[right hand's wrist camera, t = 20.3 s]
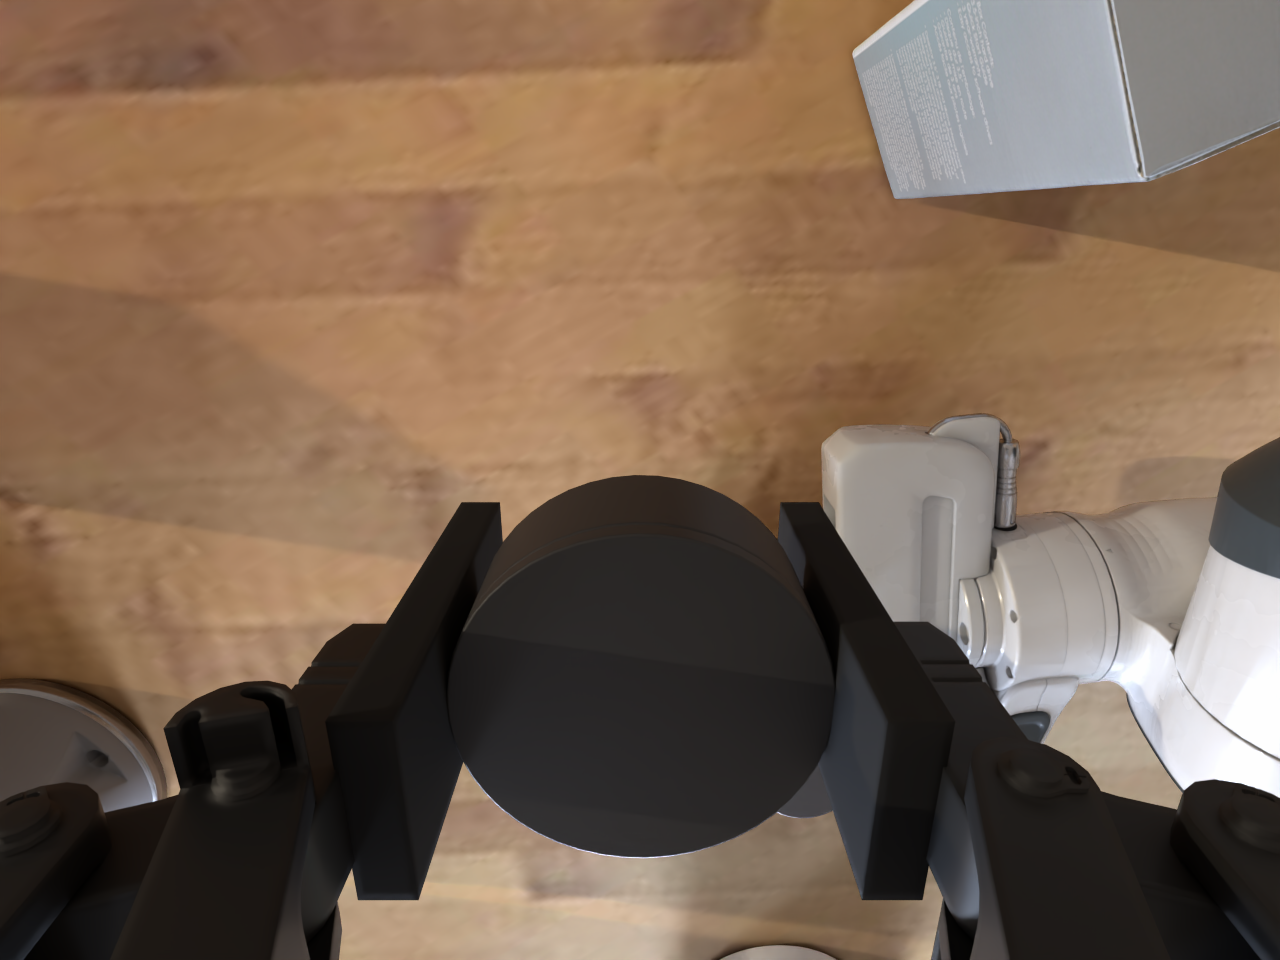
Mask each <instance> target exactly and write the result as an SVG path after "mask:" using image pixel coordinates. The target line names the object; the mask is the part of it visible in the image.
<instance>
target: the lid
mask: <svg viewBox="0 0 1280 960" xmlns="http://www.w3.org/2000/svg"><path fill="white" fill-rule="evenodd" d="M835 686H836V682H835V675H834V669H833V663H832V659H831V656H830V653H829V651H828V648H827V645H826V642H825V639H824V637H823V635H822V632H821V630H820V628H819V625H818V623H817V621H816V618H815V616H814V614H813V612H812V609H811V607H810V605H809V602H808V600H807V598H806V596H805V593H804V591H803V589H802V586H801V584H800V582H799V579H798V577H797V575H796V573H795V570H794V568H793V566H792V564H791V562H790V560H789V558H788V556H787V554H786V552H785V550H784V549H783V547H782V546H781V545H780V543H779V542H778V540H777V539H776V538H775V536H774V535H773V534H772V532H771V531H770V530H769V529H768V528H767V527H766V526H765V525H764V524H763V523H762V522H761V521H760V520H759V519H758V518H757V517H756V516H754V515H753V514H752V513H751V512H749V511H748V510H747V509H745V508H744V507H743V506H742V505H740V504H738V503H737V502H735V501H733V500H732V499H730V498H728V497H726V496H725V495H723V494H721V493H719V492H716V491H714V490H712V489H709V488H707V487H705V486H702V485H699V484H695V483H692V482H688V481H685V480H681V479H675V478H669V477H662V476H646V475H632V476H621V477H612V478H607V479H603V480H598V481H594V482H589V483H587V484H584V485H581V486H578V487H576V488H573V489H570V490H568V491H566V492H564V493H562V494H560V495H558V496H556V497H554V498H552V499H550V500H548V501H547V502H546V503H544V504H543V505H541V506H540V507H538V508H537V509H535V510H534V511H533V512H531V513H530V514H529V515H528V516H527V517H526V518H525V519H524V520H522V521H521V522H520V523H519V524H518V525H517V526H516V527H515V528H514V530H513V531H512V532H511V533H510V534H509V536H508V537H507V538H506V539H505V540H504V542H503V543H502V545H501V546H500V548H499V550H498V551H497V553H496V555H495V556H494V558H493V560H492V562H491V565H490V567H489V569H488V572H487V574H486V576H485V579H484V581H483V583H482V586H481V588H480V590H479V592H478V595H477V597H476V599H475V602H474V604H473V606H472V609H471V611H470V613H469V616H468V618H467V620H466V623H465V625H464V627H463V630H462V632H461V634H460V637H459V639H458V641H457V644H456V646H455V649H454V651H453V654H452V658H451V663H450V667H449V671H448V678H447V690H446V697H447V708H448V717H449V723H450V727H451V732H452V736H453V739H454V742H455V744H456V747H457V749H458V752H459V754H460V756H461V758H462V760H463V762H464V764H465V765H466V767H467V769H468V770H469V772H470V774H471V776H472V777H473V778H474V779H475V781H476V782H477V783H478V785H479V786H480V787H481V788H482V790H483V791H484V792H485V793H486V794H487V795H488V796H489V797H490V798H491V799H492V800H493V801H494V802H495V803H496V804H497V805H498V806H499V807H500V808H501V809H502V810H504V811H505V812H506V813H507V814H509V815H510V816H511V817H513V818H514V819H515V820H517V821H518V822H520V823H521V824H523V825H525V826H526V827H528V828H530V829H531V830H533V831H535V832H536V833H538V834H540V835H543V836H545V837H547V838H549V839H551V840H553V841H556V842H558V843H561V844H564V845H567V846H570V847H573V848H576V849H579V850H583V851H588V852H592V853H596V854H601V855H608V856H617V857H627V858H654V857H667V856H675V855H680V854H686V853H691V852H696V851H699V850H703V849H706V848H710V847H713V846H716V845H719V844H721V843H724V842H726V841H729V840H731V839H734V838H736V837H738V836H740V835H742V834H744V833H746V832H748V831H749V830H751V829H753V828H755V827H757V826H758V825H760V824H761V823H763V822H764V821H765V820H767V819H768V818H770V817H771V816H773V815H774V814H775V813H777V812H778V811H779V810H780V809H781V808H782V807H783V806H784V805H786V804H787V803H788V802H789V801H790V800H791V799H792V798H793V797H794V796H795V795H796V794H797V792H798V791H799V790H800V789H801V788H802V787H803V786H804V784H805V783H806V782H807V780H808V779H809V777H810V776H811V774H812V773H813V771H814V770H815V768H816V767H817V765H818V763H819V761H820V759H821V757H822V755H823V753H824V751H825V748H826V746H827V743H828V740H829V737H830V731H831V724H832V715H833V706H834V696H835Z"/></svg>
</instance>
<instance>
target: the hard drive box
mask: <svg viewBox="0 0 1280 960" xmlns="http://www.w3.org/2000/svg"><path fill="white" fill-rule="evenodd" d="M853 59H854V62H855V66H856V70H857V73H858V77H859V80H860V84H861V87H862V91H863V94H864V98H865V101H866V105H867V108H868V112H869V115H870V119H871V122H872V126H873V129H874V132H875V136H876V139H877V143H878V146H879V150H880V153H881V157H882V160H883V164H884V167H885V171H886V174H887V177H888V180H889V183H890V186H891V189H892V192H893V195H894V198H896V199H907V198H925V197H938V196H953V195H966V194H981V193H995V192H1007V191H1021V190H1036V189H1050V188H1061V187H1073V186H1085V185H1103V184H1117V183H1133V182H1148V181H1151V180H1154V179H1157V178H1159V177H1162V176H1165V175H1167V174H1170V173H1173V172H1175V171H1178V170H1180V169H1183V168H1185V167H1188V166H1191V165H1193V164H1195V163H1198V162H1200V161H1202V160H1205V159H1207V158H1209V157H1212V156H1214V155H1216V154H1218V153H1221V152H1223V151H1225V150H1228V149H1230V148H1232V147H1235V146H1237V145H1239V144H1242V143H1244V142H1246V141H1249V140H1251V139H1253V138H1256V137H1258V136H1260V135H1263V134H1265V133H1268V132H1270V131H1272V130H1275V129H1277V128H1279V127H1280V0H914V1H913V2H912V3H911V4H909V5H908V6H907V7H906V8H904V9H903V10H902V11H901V12H899V13H898V14H897V15H896V16H894V17H893V18H892V19H891V20H889V21H888V22H887V23H886V24H884V25H883V26H882V27H881V28H880V29H878V30H877V31H876V32H875V33H873V34H872V35H871V36H870V37H869V38H868V39H866V40H865V41H864V42H863V43H861V44H860V45H859V46H858V47H857V48H855V49H854V51H853Z"/></svg>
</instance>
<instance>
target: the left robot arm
mask: <svg viewBox="0 0 1280 960" xmlns="http://www.w3.org/2000/svg"><path fill="white" fill-rule="evenodd" d="M1000 432H1001V434H1002V438H1003V439H999V438H1000ZM821 454H822V492H823V510H824V512H825V513H826V515H827V516H828V518H829V520H830V521H831V523H832V524H833V526H834V528H835V529H836V531H837V532H838V534H839V536H840V537H841V539H842V540H843V542H844V544H845V545H846V547H847V548H848V550H849V552H850V553H851V555H852V556H853V558H854V560H855V561H856V563H857V564H858V566H859V568H860V569H861V571H862V572H863V574H864V576H865V577H866V579H867V580H868V582H869V584H870V585H871V587H872V588H873V590H874V592H875V593H876V595H877V596H878V598H879V600H880V601H881V603H882V604H883V606H884V608H885V609H886V611H887V613H888V614H889V616H890V617H891V619H892V621H893V622H929V623H931V624H932V625H934V626H935V627H936V628H938V629H939V630H941V631H942V632H944V633H945V634H947V635H948V636H950V637H951V638H953V639H954V640H955V642H956V643H957V644H958V646H959V647H960V648H961V650H962V651H963V652H964V654H965V655H966V656H967V658H968V659H969V663H970V664H973V666H974V667H975V669H976V670H977V671H978V673H979V674H980V675H981V677H982V681H983V682H986V683H987V685H988V686H989V687H990V689H991V690H992V691H993V693H994V694H995V696H996V697H997V698H998V700H999V701H1000V702H1001V704H1002V705H1003V706H1004V708H1005V709H1006V710H1007V712H1008V713H1009V714H1010V716H1011V717H1012V718H1013V720H1014V721H1015V723H1016V724H1017V725H1018V727H1019V728H1020V729H1021V731H1022V732H1023V733H1024V735H1025V736H1026V737H1027V739H1028V740H1030V741H1034V742H1038V743H1041V744H1043V743H1044V741H1045V739H1046V738H1047V736H1048V734H1049V732H1050V730H1051V728H1052V726H1053V725H1054V723H1055V721H1056V719H1057V718H1058V716H1059V715H1060V713H1061V712H1062V710H1063V709H1064V707H1065V706H1066V705H1067V703H1068V702H1069V701H1070V699H1071V698H1072V697H1073V695H1074V694H1075V692H1076V690H1077V687H1078V684H1085V683H1094V682H1099V681H1112V682H1115V683H1117V684H1119V685H1120V686H1121V687H1123V688H1124V689H1125V691H1126V692H1127V695H1126V696H1127V701H1128V705H1129V707H1130V710H1131V712H1132V714H1133V716H1134V718H1135V720H1136V722H1137V724H1138V726H1139V728H1140V730H1141V731H1142V733H1143V735H1144V736H1145V738H1146V740H1147V741H1148V743H1149V745H1150V746H1151V748H1152V750H1153V751H1154V753H1155V754H1156V756H1157V757H1158V759H1159V761H1160V762H1161V764H1162V765H1163V767H1164V768H1165V770H1166V771H1167V773H1168V774H1169V776H1170V777H1171V779H1172V780H1173V781H1174V783H1175V784H1176V785H1177V786H1178V788H1179V789H1180V790H1181V792H1182V793H1183V791H1184V790H1185V789H1186V788H1188V787H1189V786H1190V785H1191V784H1192V783H1194V782H1196V781H1204V780H1211V779H1218V780H1224V781H1231V782H1237V783H1243V784H1245V785H1248V786H1252V787H1255V788H1257V789H1261V790H1264V791H1266V792H1269V793H1271V794H1273V795H1275V796H1277V797H1279V798H1280V437H1279V438H1277V439H1275V440H1273V441H1271V442H1269V443H1267V444H1265V445H1263V446H1261V447H1260V448H1258V449H1256V450H1254V451H1253V452H1251V453H1249V454H1247V455H1246V456H1244V457H1242V458H1241V459H1239V460H1237V461H1236V462H1234V463H1232V464H1231V465H1230V466H1228V467H1227V468H1226V469H1225V471H1224V472H1223V475H1222V478H1221V483H1220V488H1219V492H1218V497H1214V498H1188V499H1174V500H1162V501H1151V502H1141V503H1134V504H1130V505H1126V506H1123V507H1120V508H1118V509H1116V510H1113V511H1111V512H1108V513H1104V514H1099V515H1086V514H1080V513H1075V512H1067V511H1054V512H1045V513H1034V514H1025V515H1016V508H1017V487H1016V475H1017V468H1018V467H1019V463H1020V445H1019V442H1018V440H1015V439H1012V435H1011V432H1010V429H1009V428H1008V426H1007V425H1006V423H1005V422H1004V421H1002V420H1001V419H1000V418H998V417H996V416H994V415H991V414H986V413H977V414H968V415H959V416H952V417H948V418H945V419H942V420H940V421H939V422H937V423H936V424H934V425H933V426H932V427H927V426H915V425H855V426H845V427H841V428H839V429H838V430H837V431H835V432H834V433H833V434H832V435H831V436H829V437H828V438H827V439H826V440H825V441H824V442H823V444H822V447H821ZM720 960H836V959H835V958H833V957H831V956H829V955H827V954H824V953H822V952H819V951H816V950H813V949H809V948H804V947H798V946H788V945H772V946H761V947H755V948H750V949H746V950H742V951H739V952H736V953H733V954H731V955H728V956H726V957H724V958H722V959H720Z"/></svg>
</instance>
